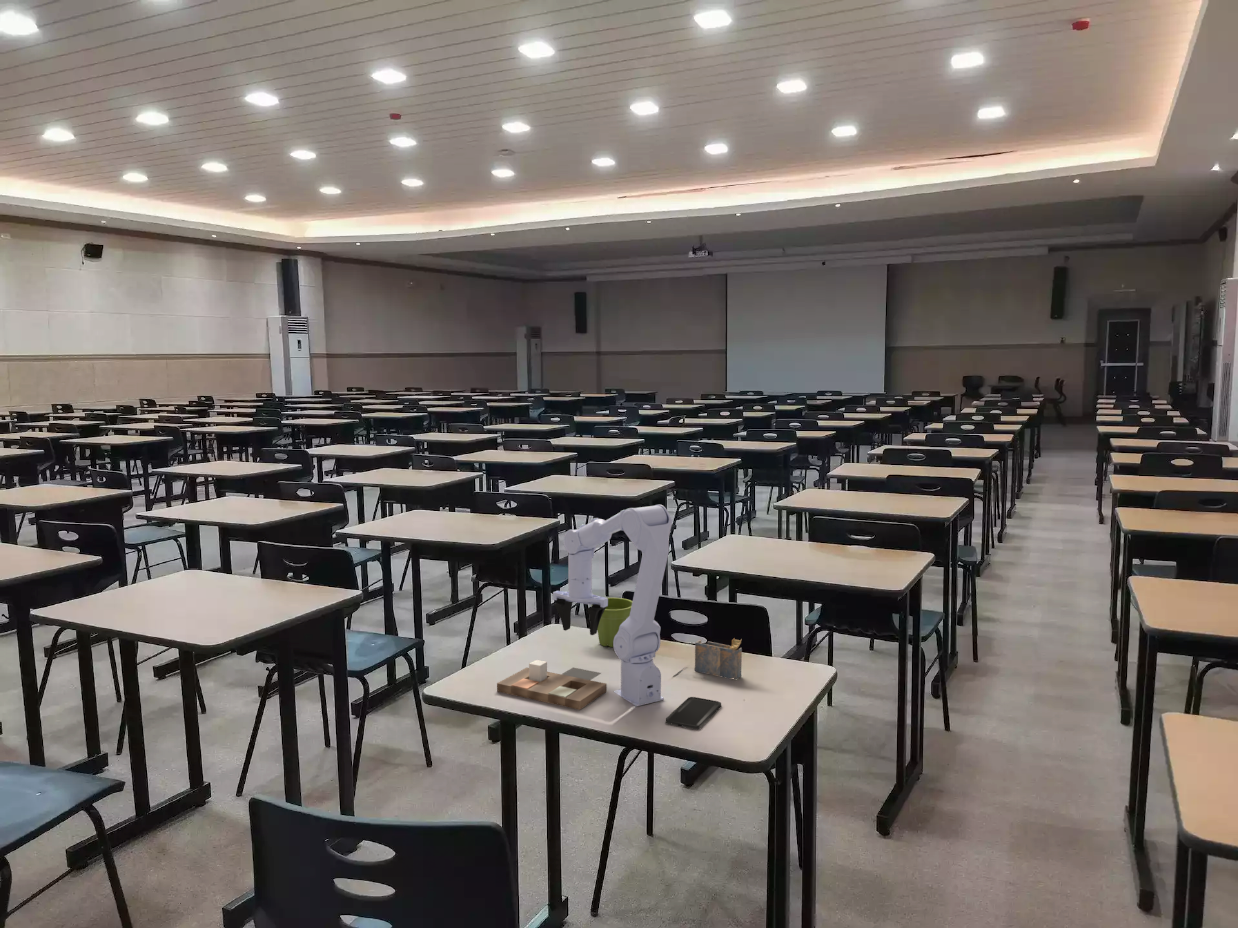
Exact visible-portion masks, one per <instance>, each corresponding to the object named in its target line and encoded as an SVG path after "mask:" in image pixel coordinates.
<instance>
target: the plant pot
mask: <svg viewBox="0 0 1238 928" xmlns="http://www.w3.org/2000/svg"><path fill="white" fill-rule="evenodd" d="M607 598H608V606H606V609H605V610H604V612H603V614H602V616H601V619H600V622H599V625H598V629H597V635H598V637H597V638H598V642H599V644H600V646H603V647H607V646H608V647H610V648H614V647H613V641H614V637H615V635H616V634H617V633H618V631H619V627H620V625H621V624H622V623H623V622H624V621H625V620H626V619H627V618H628V617H629V616H630V611H631V607H632V602H633V600H631V599H627V598H622V597H607ZM591 606H592V605H590V607H591Z"/></svg>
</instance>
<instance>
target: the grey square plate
mask: <svg viewBox="0 0 1238 928" xmlns="http://www.w3.org/2000/svg"><path fill="white" fill-rule="evenodd" d="M561 674H562V675H567V676H571V677H576V678H581V679H586V680H591V681H592V680H593V679H595V678H596V677H597V676H599V675H602V672H598V671H593V670H588V669H583V668H579V667H578V668H577V667H571V668H569V669H567V670H566V671H565V672H563V673H561Z"/></svg>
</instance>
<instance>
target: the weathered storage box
mask: <svg viewBox="0 0 1238 928" xmlns="http://www.w3.org/2000/svg"><path fill="white" fill-rule="evenodd" d="M741 644H742V638H741V639H740V640H739V639H735V637H734V638H733V639H731V645H729V644H723V643H719V642H712V641H707V643H702V640H701V639H699V640H697V641H695V643H694V646H695V648H694V671H695V672H699V673H703V674H707V675H712V676H717V677H720V676H722V677H721V678H725V677H726V679H729V678H734V679H737V678H739V677H740V676H741V677H742V657H743V656H742V655H743V649H742V647H740V645H741ZM739 647H740V648H739ZM741 677H740V678H741ZM740 678H739V679H740ZM734 679H733V680H734Z"/></svg>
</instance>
